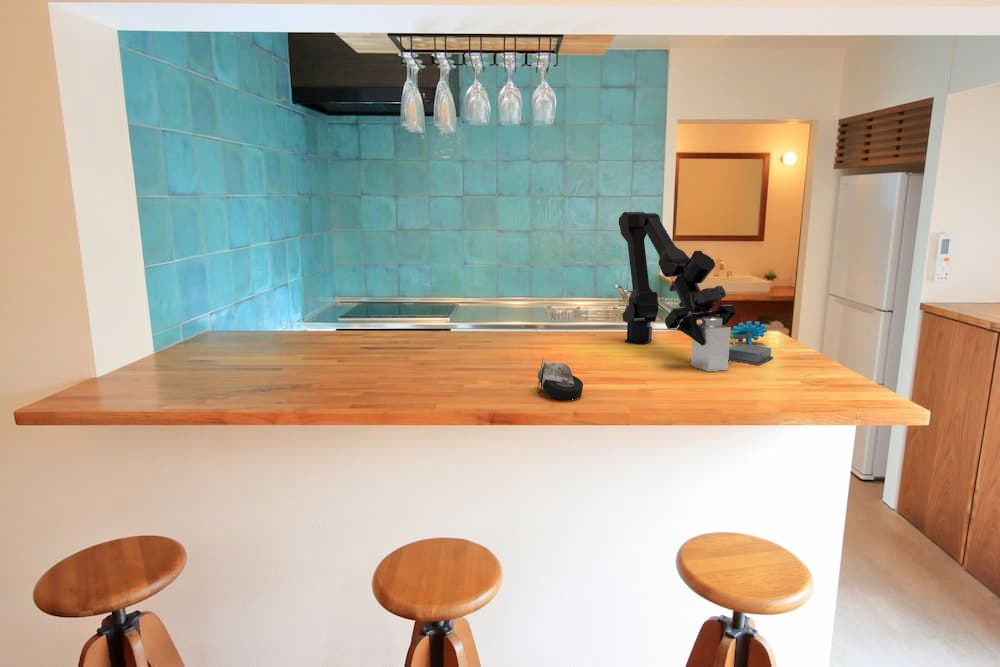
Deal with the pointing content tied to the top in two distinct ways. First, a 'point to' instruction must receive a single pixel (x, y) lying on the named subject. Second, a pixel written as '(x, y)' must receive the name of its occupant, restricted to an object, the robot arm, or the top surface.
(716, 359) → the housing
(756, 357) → the stand
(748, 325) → the gear
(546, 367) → the caster wheel
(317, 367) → the top surface
